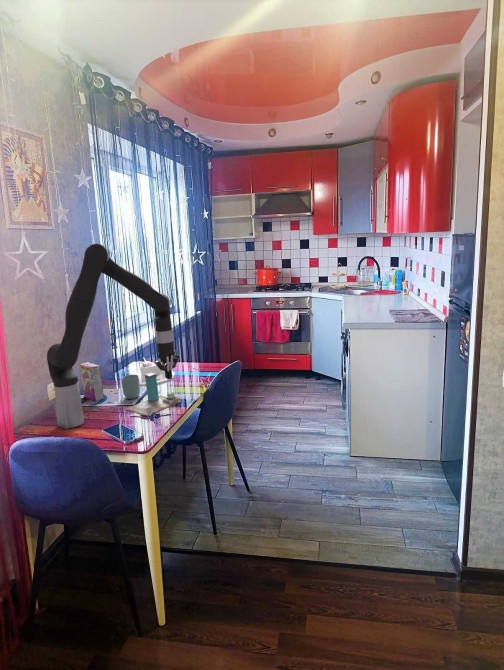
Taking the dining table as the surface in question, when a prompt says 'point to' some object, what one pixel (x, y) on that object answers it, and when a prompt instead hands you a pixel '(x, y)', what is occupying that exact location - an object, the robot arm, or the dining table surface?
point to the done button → (170, 395)
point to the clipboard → (153, 405)
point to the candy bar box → (91, 381)
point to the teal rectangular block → (151, 387)
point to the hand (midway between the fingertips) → (169, 378)
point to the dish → (151, 368)
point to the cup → (131, 386)
